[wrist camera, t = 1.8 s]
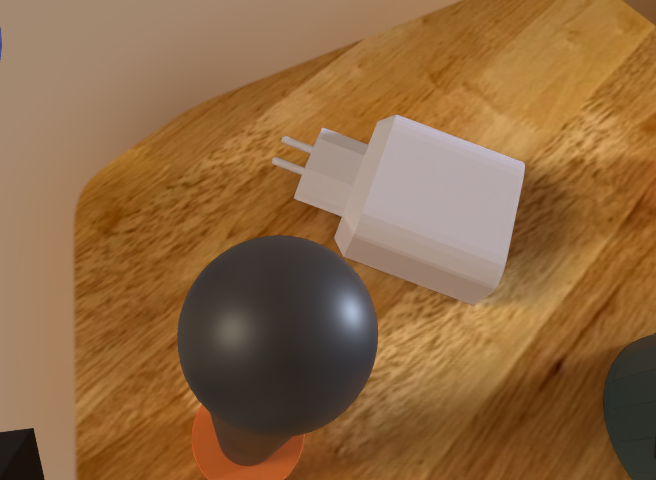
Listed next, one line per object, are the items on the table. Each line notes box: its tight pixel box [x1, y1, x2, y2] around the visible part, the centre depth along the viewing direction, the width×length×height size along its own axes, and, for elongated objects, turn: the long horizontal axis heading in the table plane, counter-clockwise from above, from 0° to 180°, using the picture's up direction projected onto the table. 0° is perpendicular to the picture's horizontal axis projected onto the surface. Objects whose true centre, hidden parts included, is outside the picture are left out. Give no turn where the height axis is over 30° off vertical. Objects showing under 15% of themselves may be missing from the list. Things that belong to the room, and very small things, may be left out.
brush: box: [178, 235, 378, 480], centre depth 19 cm, size 5×5×26 cm
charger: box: [272, 115, 525, 306], centre depth 35 cm, size 5×9×15 cm
